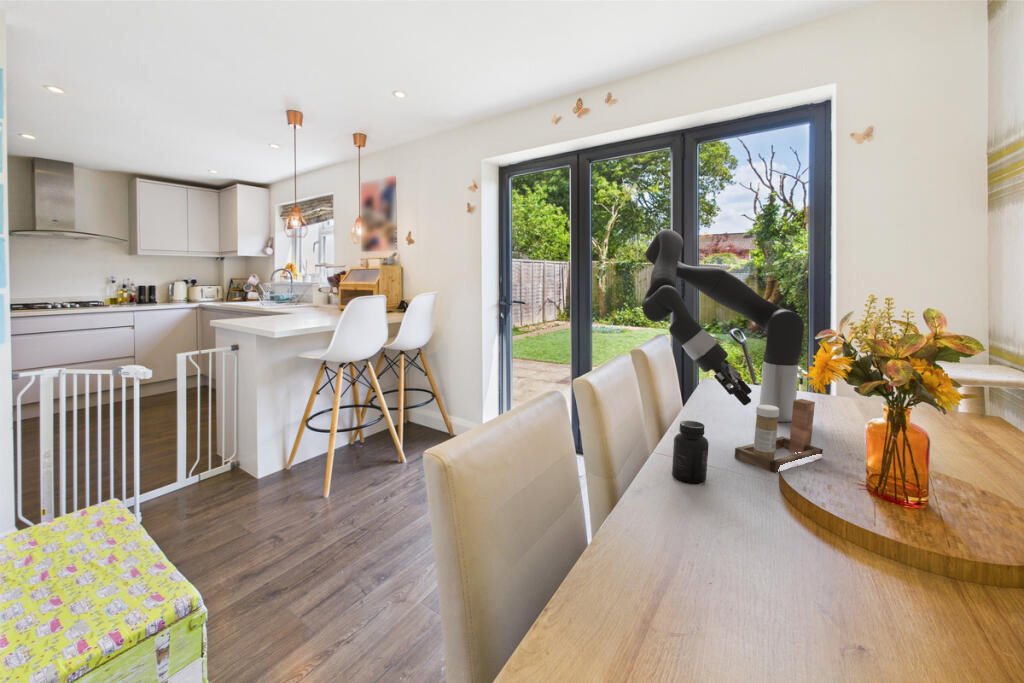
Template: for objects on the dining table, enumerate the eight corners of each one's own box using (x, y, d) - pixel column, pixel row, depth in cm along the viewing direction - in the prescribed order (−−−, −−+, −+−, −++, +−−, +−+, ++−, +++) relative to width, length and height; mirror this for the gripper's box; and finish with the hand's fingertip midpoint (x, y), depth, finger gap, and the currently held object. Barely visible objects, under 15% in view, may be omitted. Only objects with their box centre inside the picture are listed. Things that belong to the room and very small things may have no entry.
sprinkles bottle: (760, 457, 107) (765, 403, 105) (779, 464, 103) (784, 408, 101) (747, 460, 105) (752, 405, 103) (765, 468, 101) (770, 410, 99)
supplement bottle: (695, 470, 99) (698, 418, 98) (712, 484, 92) (716, 428, 91) (666, 472, 98) (669, 419, 97) (681, 486, 92) (684, 430, 90)
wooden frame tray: (783, 444, 115) (788, 395, 113) (824, 458, 106) (829, 405, 105) (734, 457, 106) (738, 404, 105) (774, 473, 98) (779, 416, 96)
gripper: (696, 353, 126) (737, 398, 123) (689, 364, 113) (734, 415, 110) (718, 336, 122) (761, 382, 119) (713, 346, 110) (761, 398, 107)
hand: (748, 398), depth 115 cm, fingers open, 8 cm apart
